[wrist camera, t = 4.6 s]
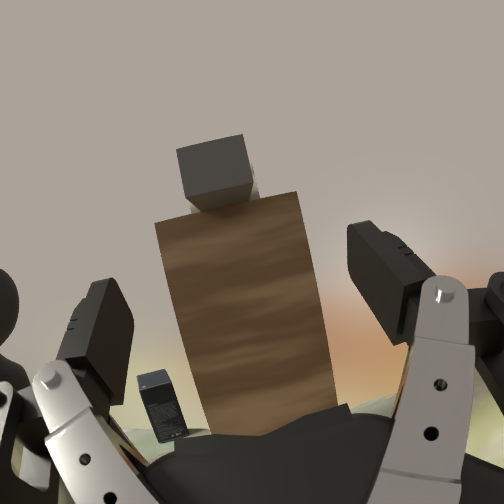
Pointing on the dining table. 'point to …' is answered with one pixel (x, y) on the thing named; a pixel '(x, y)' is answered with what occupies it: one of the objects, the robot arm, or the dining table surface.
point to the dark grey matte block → (216, 173)
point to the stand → (249, 312)
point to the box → (162, 406)
